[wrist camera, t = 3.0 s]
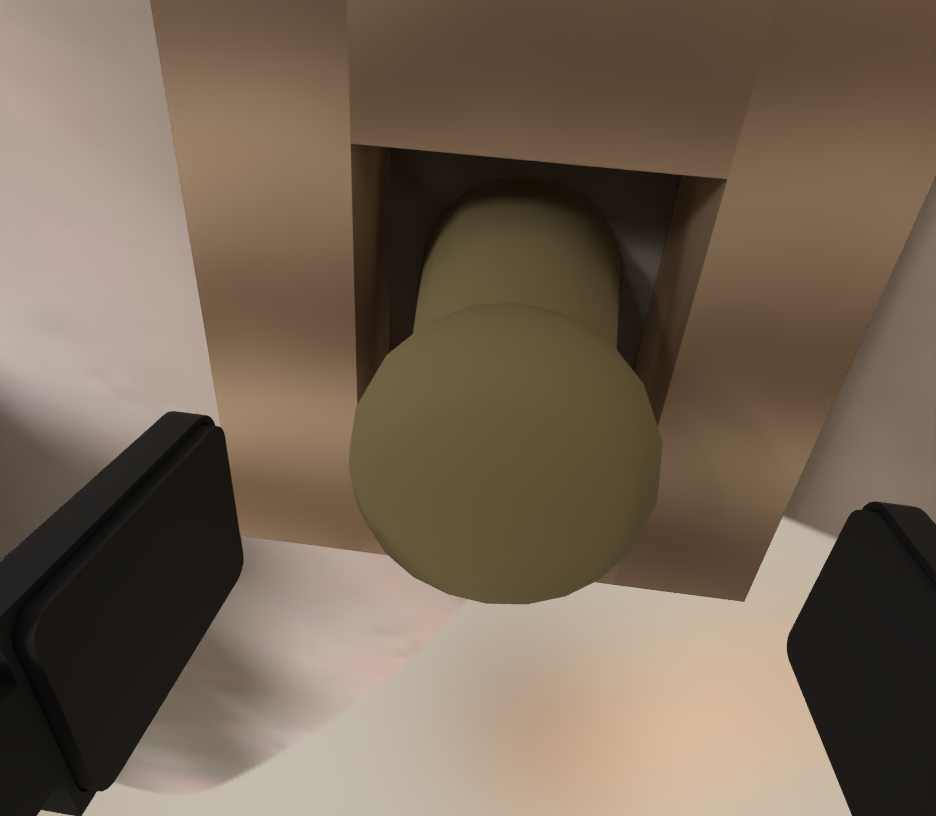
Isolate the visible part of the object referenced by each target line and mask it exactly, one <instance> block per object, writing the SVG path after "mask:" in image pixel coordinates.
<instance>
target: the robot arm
mask: <svg viewBox="0 0 936 816" xmlns="http://www.w3.org/2000/svg"><path fill="white" fill-rule="evenodd" d="M242 566H243V550H242V543H241V537H240V530H239V524H238V517H237V511H236V504H235V498H234V491H233V484H232V478H231V471H230V465H229V458H228V452H227V445H226V438H225V434H224V431H223V429H222V428H221V427H218V426H215V424H214V421H213V420H212V418H211V417H209V416H207V415H199V414H191V413H183V412H175V411H172V412H168V413H166V414H165V415H163V416H162V417H161V418H160V419H159V420H158V421H157V422H156V423H154V424H153V425H152V426H151V427H150V428H149V429H148V430H147V431H146V432H144V433H143V434H142V435H141V436H140V437H139V438H138V439H137V440H136V441H134V442H133V443H132V444H131V445H130V446H129V447H128V448H127V449H125V450H124V451H123V452H122V453H121V454H120V455H119V456H118V457H117V458H115V459H114V460H113V461H112V462H111V463H110V464H109V465H108V466H107V467H105V468H104V469H103V470H102V471H101V472H100V473H99V474H98V475H97V476H95V477H94V478H93V479H92V480H91V481H90V482H89V483H88V484H86V485H85V486H84V487H83V488H82V489H81V490H80V491H79V492H78V493H76V494H75V495H74V496H73V497H72V498H71V499H70V500H69V501H68V502H66V503H65V504H64V505H63V506H62V507H61V508H60V509H59V510H57V511H56V512H55V513H54V514H53V515H52V516H51V517H50V518H49V519H47V520H46V521H45V522H44V523H43V524H42V525H41V526H40V527H39V528H37V529H36V530H35V531H34V532H33V533H32V534H31V535H30V536H28V537H27V538H26V539H25V540H24V541H23V542H22V543H21V544H20V545H18V546H17V547H16V548H15V549H14V550H13V551H12V552H11V553H10V554H8V555H7V556H6V557H5V558H4V559H3V560H2V561H1V562H0V816H37V815H38V813H39V812H40V810H45V811H51V812H57V813H62V814H68V815H74V816H82V814H83V813H84V811H85V809H86V808H87V806H88V805H89V803H90V802H91V800H92V798H93V797H94V795H95V793H96V792H97V791H104V790H106V789H108V788H109V787H110V786H111V785H112V784H113V783H114V781H115V780H116V778H117V777H118V775H119V774H120V772H121V770H122V769H123V767H124V766H125V764H126V762H127V761H128V759H129V757H130V756H131V754H132V752H133V751H134V749H135V747H136V746H137V744H138V743H139V741H140V739H141V738H142V736H143V734H144V733H145V731H146V729H147V728H148V726H149V725H150V723H151V721H152V720H153V718H154V716H155V715H156V713H157V711H158V710H159V708H160V707H161V705H162V703H163V702H164V700H165V698H166V697H167V695H168V693H169V692H170V690H171V688H172V687H173V685H174V684H175V682H176V680H177V679H178V677H179V675H180V674H181V672H182V670H183V669H184V667H185V666H186V664H187V662H188V661H189V659H190V657H191V656H192V654H193V652H194V651H195V649H196V647H197V646H198V644H199V643H200V641H201V639H202V638H203V636H204V634H205V633H206V631H207V629H208V628H209V626H210V625H211V623H212V621H213V620H214V618H215V616H216V615H217V613H218V611H219V610H220V608H221V606H222V605H223V603H224V602H225V600H226V598H227V597H228V595H229V593H230V592H231V590H232V588H233V587H234V585H235V584H236V582H237V580H238V578H239V576H240V573H241V571H242ZM787 653H788V658H789V661H790V664H791V666H792V669H793V671H794V674H795V676H796V679H797V681H798V684H799V686H800V689H801V691H802V693H803V696H804V698H805V701H806V703H807V706H808V708H809V711H810V713H811V716H812V718H813V721H814V723H815V725H816V728H817V730H818V733H819V735H820V738H821V740H822V743H823V745H824V748H825V750H826V753H827V755H828V757H829V760H830V762H831V765H832V767H833V770H834V772H835V775H836V777H837V780H838V782H839V785H840V787H841V789H842V791H843V794H844V797H845V799H846V802H847V804H848V807H849V809H850V812H851V814H852V816H936V524H935V523H934V522H933V521H932V520H931V519H930V517H929V516H928V515H927V514H926V513H925V512H924V511H923V510H921V509H920V508H917V507H913V506H906V505H898V504H890V503H882V502H870V503H868V504H867V505H865V506H864V507H863V509H862V510H855V511H854V512H852V513H851V514H850V516H849V517H848V519H847V521H846V523H845V525H844V527H843V529H842V531H841V533H840V535H839V537H838V539H837V541H836V543H835V545H834V547H833V549H832V551H831V552H830V555H829V556H828V559H827V560H826V562H825V564H824V566H823V568H822V570H821V572H820V575H819V576H818V578H817V580H816V582H815V584H814V586H813V588H812V590H811V592H810V594H809V596H808V598H807V600H806V602H805V604H804V606H803V608H802V610H801V612H800V614H799V615H798V617H797V619H796V621H795V624H794V625H793V628H792V629H791V631H790V633H789V636H788V641H787Z"/></svg>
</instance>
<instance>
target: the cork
mask: <svg viewBox="0 0 936 816" xmlns="http://www.w3.org/2000/svg"><path fill="white" fill-rule="evenodd" d="M620 271H621V259H620V256H619V253H618V249H617V246H616V243H615V240H614V236H613V233H612V230H611V229H610V227H609V226H608V225H607V223H606V222H605V221H604V219H603V218H602V217H601V215H600V214H599V212H598V211H597V210H596V208H595V207H594V206H593V204H592V203H590V202H589V201H587V200H586V199H584V198H583V197H581V196H580V195H578V194H577V193H575V192H574V191H572V190H571V189H569V188H568V187H566V186H565V185H561V184H558V183H554V182H550V181H546V180H542V179H539V178H535V177H521V178H508V179H497V180H495V181H493V182H490V183H488V184H486V185H483V186H481V187H479V188H476V189H474V190H472V191H469V192H467V193H466V194H465V195H464V196H462V197H461V198H460V199H459V200H458V201H457V202H456V203H455V204H453V205H452V206H451V207H450V208H449V209H448V210H447V211H446V212H445V213H443V214H442V216H441V218H440V220H439V222H438V223H437V225H436V227H435V229H434V230H433V232H432V234H431V236H430V237H429V239H428V241H427V245H426V250H425V255H424V260H423V266H422V271H421V278H420V285H419V292H418V300H417V307H416V314H415V322H414V329H413V334H412V335H411V336H410V337H408V338H407V339H406V340H405V341H403V342H402V343H401V344H400V345H399V346H397V347H396V348H395V349H394V350H392V351H391V352H390V353H389V354H387V355H386V357H385V359H384V360H383V362H382V364H381V365H380V367H379V369H378V370H377V372H376V374H375V376H374V377H373V379H372V381H371V382H370V384H369V386H368V387H367V389H366V391H365V393H364V394H363V396H362V398H361V400H360V401H359V403H358V405H357V407H356V410H355V416H354V423H353V430H352V436H351V443H350V452H349V472H350V476H351V481H352V485H353V489H354V494H355V498H356V502H357V506H358V508H359V510H360V512H361V514H362V516H363V518H364V520H365V522H366V523H367V525H368V527H369V528H370V530H371V531H372V533H373V534H374V536H375V538H376V539H377V541H378V542H379V544H380V545H381V547H382V549H383V550H384V552H385V553H386V554H388V555H389V556H390V557H391V558H392V559H393V560H394V561H396V562H397V563H398V564H399V565H400V566H401V567H403V568H404V569H405V570H406V571H407V572H408V573H409V574H411V575H412V576H413V577H415V578H417V579H419V580H421V581H423V582H425V583H427V584H429V585H431V586H433V587H435V588H437V589H439V590H441V591H443V592H445V593H447V594H450V595H454V596H458V597H462V598H466V599H470V600H475V601H479V602H483V603H492V604H530V603H535V602H540V601H545V600H549V599H554V598H559V597H563V596H567V595H569V594H571V593H573V592H575V591H577V590H579V589H581V588H583V587H585V586H587V585H589V584H591V583H593V582H595V581H597V580H599V579H601V578H602V577H603V576H604V575H605V574H606V573H607V572H608V571H609V570H610V569H611V568H612V567H614V566H615V565H616V564H617V563H618V562H619V561H620V560H621V559H622V558H623V557H624V556H625V555H626V554H627V553H628V552H629V551H630V550H631V548H632V547H633V546H634V545H635V543H636V542H637V541H638V539H639V538H640V536H641V534H642V532H643V530H644V528H645V526H646V524H647V522H648V520H649V518H650V516H651V514H652V512H653V510H654V508H655V507H656V505H657V497H658V489H659V480H660V469H661V457H662V446H663V442H662V439H661V436H660V433H659V429H658V426H657V423H656V420H655V417H654V414H653V411H652V407H651V404H650V401H649V398H648V395H647V393H646V390H645V387H644V384H643V382H642V381H641V380H640V378H639V377H638V376H637V375H636V373H635V372H634V371H633V370H632V368H631V367H630V366H629V365H628V363H627V362H626V361H625V360H624V358H623V357H622V356H621V355H620V353H619V352H618V351H617V334H618V314H619V295H620Z"/></svg>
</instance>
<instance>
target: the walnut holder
mask: <svg viewBox="0 0 936 816" xmlns="http://www.w3.org/2000/svg"><path fill="white" fill-rule="evenodd" d="M150 2H151V8H152V14H153V20H154V27H155V33H156V39H157V45H158V51H159V57H160V63H161V69H162V75H163V81H164V87H165V93H166V99H167V105H168V111H169V117H170V123H171V129H172V135H173V141H174V147H175V153H176V159H177V165H178V171H179V177H180V183H181V189H182V195H183V201H184V207H185V213H186V219H187V225H188V231H189V237H190V243H191V249H192V256H193V262H194V268H195V274H196V280H197V286H198V292H199V298H200V304H201V310H202V316H203V322H204V328H205V334H206V340H207V346H208V352H209V358H210V364H211V370H212V376H213V382H214V388H215V394H216V400H217V406H218V412H219V418H220V424H221V428H222V429H223V431H224V434H225V438H226V445H227V452H228V458H229V465H230V471H231V478H232V484H233V491H234V498H235V504H236V511H237V517H238V524H239V530H240V536H246V537H254V538H262V539H269V540H277V541H285V542H292V543H300V544H308V545H315V546H323V547H330V548H338V549H346V550H353V551H361V552H369V553H376V554H384V555H388V554H386V553H385V552H384V550H383V549H382V547H381V545H380V544H379V542H378V541H377V539H376V538H375V536H374V534H373V533H372V531H371V530H370V528H369V527H368V525H367V523H366V522H365V520H364V518H363V516H362V514H361V512H360V510H359V508H358V506H357V502H356V498H355V494H354V489H353V485H352V481H351V476H350V472H349V452H350V443H351V436H352V430H353V423H354V416H355V410H356V407H357V405H358V403H359V401H360V400H361V398H362V396H363V394H364V393H365V391H366V389H367V387H368V386H369V384H370V382H371V381H372V379H373V377H374V376H375V374H376V372H377V370H378V369H379V367H380V365H381V364H382V362H383V360H384V359H385V357H386V355H387V354H389V307H390V147H393V148H403V149H414V150H424V151H435V152H445V153H456V154H467V155H477V156H488V157H498V158H509V159H519V160H530V161H541V162H551V163H562V164H572V165H583V166H593V167H604V168H614V169H625V170H636V171H646V172H657V173H667V174H678V175H682V176H681V180H680V184H679V189H678V193H677V197H676V201H675V205H674V209H673V213H672V217H671V221H670V226H669V230H668V234H667V238H666V242H665V246H664V250H663V254H662V258H661V263H660V267H659V271H658V275H657V279H656V283H655V287H654V291H653V295H652V300H651V304H650V308H649V312H648V316H647V320H646V324H645V328H644V332H643V337H642V341H641V345H640V349H639V353H638V357H637V361H636V365H635V369H634V372H635V373H636V375H637V376H638V377H639V378H640V380H641V381H642V382H643V384H644V387H645V390H646V393H647V395H648V398H649V401H650V404H651V407H652V411H653V414H654V417H655V420H656V423H657V426H658V429H659V433H660V436H661V439H662V442H663V446H662V457H661V469H660V480H659V489H658V497H657V505H656V507H655V508H654V510H653V512H652V514H651V516H650V518H649V520H648V522H647V524H646V526H645V528H644V530H643V532H642V534H641V536H640V538H639V539H638V541H637V542H636V543H635V545H634V546H633V547H632V548H631V550H630V551H629V552H628V553H627V554H626V555H625V556H624V557H623V558H622V559H621V560H620V561H619V562H618V563H617V564H616V565H615V566H614V567H612V568H611V569H610V570H609V571H608V572H607V573H606V574H605V575H604V576H603V577H602V578H601V579H599V580H597V581H595V582H598V583H605V584H613V585H621V586H629V587H636V588H644V589H651V590H659V591H666V592H674V593H682V594H689V595H697V596H706V597H712V598H721V599H728V600H736V601H743V602H744V601H745V598H746V596H747V594H748V592H749V590H750V587H751V585H752V583H753V581H754V578H755V576H756V574H757V572H758V570H759V567H760V565H761V563H762V561H763V558H764V556H765V554H766V552H767V549H768V547H769V545H770V543H771V541H772V539H773V536H774V534H775V532H776V529H777V527H778V525H779V523H780V521H781V519H782V516H783V514H784V512H785V510H786V507H787V505H788V503H789V501H790V499H791V496H792V494H793V492H794V490H795V487H796V485H797V483H798V481H799V479H800V476H801V474H802V472H803V470H804V467H805V465H806V463H807V461H808V459H809V456H810V454H811V452H812V450H813V447H814V445H815V443H816V441H817V439H818V436H819V434H820V432H821V430H822V427H823V425H824V423H825V421H826V419H827V416H828V414H829V412H830V410H831V407H832V405H833V403H834V401H835V399H836V396H837V394H838V392H839V390H840V387H841V385H842V383H843V381H844V379H845V376H846V374H847V372H848V370H849V367H850V365H851V363H852V361H853V359H854V356H855V354H856V352H857V350H858V347H859V345H860V343H861V341H862V339H863V336H864V334H865V332H866V330H867V327H868V325H869V323H870V321H871V319H872V316H873V314H874V312H875V310H876V307H877V305H878V303H879V301H880V299H881V296H882V294H883V292H884V290H885V287H886V285H887V283H888V281H889V279H890V276H891V274H892V272H893V270H894V267H895V265H896V263H897V261H898V259H899V256H900V254H901V252H902V250H903V247H904V245H905V243H906V241H907V239H908V236H909V234H910V232H911V230H912V227H913V225H914V223H915V221H916V219H917V216H918V214H919V212H920V210H921V207H922V205H923V203H924V201H925V199H926V196H927V194H928V192H929V190H930V187H931V185H932V183H933V181H934V179H935V176H936V0H150Z"/></svg>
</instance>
